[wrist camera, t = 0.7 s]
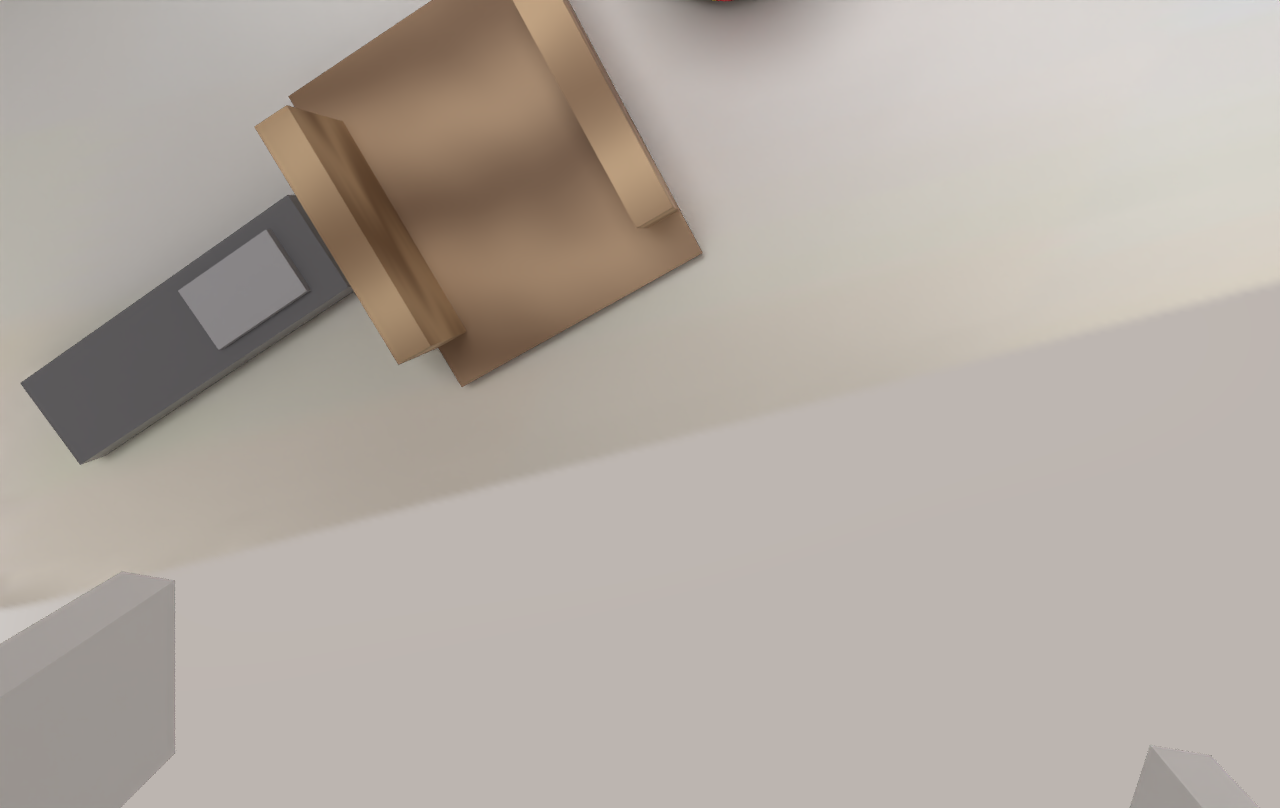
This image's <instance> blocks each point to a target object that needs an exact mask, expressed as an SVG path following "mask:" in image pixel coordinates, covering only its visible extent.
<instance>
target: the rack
mask: <svg viewBox="0 0 1280 808" xmlns="http://www.w3.org/2000/svg"><path fill="white" fill-rule="evenodd" d="M288 97H289V98H290V100H291V102H292V103H293V105H294V107H295V108H294V107H291V106H287V105H286V106H285V107H283V108H282V109H280V110H279V111H277V112H276V113H274V114H273V115H271V116H270V117H268V118H267V119H265V120H264V121H262V122H261V123H259V124H258V125H256V126H255V129H256V130H257V132H258V134H259V135H260V137H261V139H262V140H263V142H264V144H265V145H266V147H267V149H268V150H269V152H270V154H271V155H272V157H273V159H274V160H275V162H276V163H277V165H278V167H279V168H280V170H281V172H282V173H283V175H284V177H285V178H286V180H287V182H288V183H289V185H290V187H291V188H292V190H293V192H294V193H295V195H296V196H297V198H298V200H299V201H300V203H301V205H302V206H303V208H304V210H305V211H306V213H307V215H308V216H309V218H310V220H311V221H312V223H313V225H314V226H315V228H316V229H317V231H318V233H319V234H320V236H321V238H322V239H323V241H324V243H325V244H326V246H327V248H328V249H329V251H330V253H331V254H332V256H333V257H334V259H335V261H336V262H337V264H338V266H339V267H340V269H341V271H342V272H343V274H344V276H345V277H346V279H347V281H348V282H349V284H350V286H351V287H352V289H353V290H354V292H355V294H356V295H357V297H358V299H359V300H360V302H361V304H362V305H363V307H364V309H365V310H366V312H367V314H368V315H369V317H370V319H371V320H372V322H373V323H374V325H375V327H376V328H377V330H378V332H379V333H380V335H381V337H382V338H383V340H384V342H385V343H386V345H387V347H388V348H389V350H390V352H391V353H392V355H393V356H394V358H395V360H396V361H397V363H398V365H399V364H401V363H404V362H406V361H408V360H411V359H413V358H415V357H418V356H420V355H422V354H425V353H427V352H429V351H432V350H434V349H436V348H439V350H440V352H441V353H442V355H443V357H444V358H445V360H446V362H447V363H448V365H449V367H450V368H451V370H452V372H453V373H454V375H455V377H456V378H457V380H458V382H459V383H460V385H461V387H463V386H465V385H467V384H469V383H470V382H472V381H474V380H476V379H478V378H479V377H481V376H483V375H485V374H487V373H488V372H490V371H492V370H494V369H496V368H497V367H499V366H501V365H503V364H504V363H506V362H508V361H510V360H512V359H513V358H515V357H517V356H519V355H521V354H522V353H524V352H526V351H528V350H530V349H531V348H533V347H535V346H537V345H539V344H540V343H542V342H544V341H546V340H548V339H549V338H551V337H553V336H555V335H556V334H558V333H560V332H562V331H564V330H565V329H567V328H569V327H571V326H573V325H574V324H576V323H578V322H580V321H582V320H583V319H585V318H587V317H589V316H591V315H592V314H594V313H596V312H598V311H599V310H601V309H603V308H605V307H607V306H608V305H610V304H612V303H614V302H616V301H617V300H619V299H621V298H623V297H625V296H626V295H628V294H630V293H632V292H634V291H635V290H637V289H639V288H641V287H643V286H644V285H646V284H648V283H650V282H651V281H653V280H655V279H657V278H659V277H660V276H662V275H664V274H666V273H668V272H669V271H671V270H673V269H675V268H677V267H678V266H680V265H682V264H684V263H686V262H687V261H689V260H691V259H693V258H695V257H696V256H698V255H700V254H702V251H701V249H700V247H699V245H698V243H697V241H696V239H695V238H694V236H693V234H692V232H691V230H690V228H689V226H688V224H687V223H686V221H685V219H684V217H683V215H682V213H681V211H680V209H679V207H678V206H677V204H676V202H675V200H674V198H673V196H672V194H671V192H670V191H669V189H668V187H667V185H666V183H665V181H664V179H663V177H662V176H661V174H660V172H659V170H658V168H657V166H656V164H655V162H654V161H653V159H652V157H651V155H650V153H649V151H648V149H647V147H646V146H645V144H644V142H643V140H642V138H641V136H640V134H639V132H638V131H637V129H636V127H635V125H634V123H633V121H632V119H631V117H630V116H629V114H628V112H627V110H626V108H625V106H624V104H623V102H622V101H621V99H620V97H619V95H618V93H617V91H616V89H615V87H614V85H613V84H612V82H611V80H610V78H609V76H608V74H607V72H606V70H605V69H604V67H603V65H602V63H601V61H600V59H599V57H598V55H597V54H596V52H595V50H594V48H593V46H592V44H591V42H590V40H589V39H588V37H587V35H586V33H585V31H584V29H583V27H582V25H581V24H580V22H579V20H578V18H577V16H576V14H575V12H574V10H573V9H572V7H571V5H570V3H569V1H568V0H431V1H430V2H428V3H427V4H425V5H424V6H422V7H421V8H419V9H418V10H417V11H415V12H414V13H412V14H411V15H409V16H408V17H406V18H405V19H403V20H402V21H400V22H399V23H397V24H396V25H394V26H393V27H391V28H390V29H388V30H387V31H385V32H384V33H382V34H381V35H379V36H378V37H376V38H375V39H373V40H372V41H370V42H369V43H367V44H366V45H364V46H363V47H361V48H360V49H358V50H357V51H355V52H354V53H352V54H351V55H349V56H348V57H346V58H345V59H343V60H342V61H340V62H339V63H337V64H336V65H335V66H333V67H332V68H330V69H329V70H327V71H326V72H324V73H323V74H321V75H320V76H318V77H317V78H315V79H314V80H312V81H311V82H309V83H308V84H306V85H305V86H303V87H302V88H300V89H299V90H297V91H296V92H294V93H293V94H291V95H290V96H288Z"/></svg>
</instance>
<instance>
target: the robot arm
mask: <svg viewBox="0 0 1280 808" xmlns="http://www.w3.org/2000/svg"><path fill="white" fill-rule="evenodd" d="M174 754H175V581H174V580H169V579H163V578H157V577H151V576H145V575H140V574H134V573H128V572H120V573H118V574H117V575H115V576H113V577H112V578H110V579H108V580H107V581H105V582H103V583H102V584H100V585H98V586H97V587H95V588H93V589H92V590H90V591H88V592H87V593H85V594H83V595H81V596H80V597H78V598H76V599H75V600H73V601H71V602H70V603H68V604H66V605H65V606H63V607H61V608H60V609H58V610H56V611H55V612H53V613H51V614H50V615H48V616H46V617H45V618H43V619H41V620H40V621H38V622H36V623H35V624H33V625H31V626H30V627H28V628H26V629H25V630H23V631H21V632H19V633H18V634H16V635H15V636H13V637H11V638H9V639H8V640H6V641H4V642H3V643H1V644H0V808H121V807H122V806H123V805H124V803H126V802H127V800H129V799H130V798H131V797H132V796H133V795H134V794H135V793H136V792H137V790H139V789H140V788H141V787H142V785H144V784H145V783H146V782H147V781H148V780H149V779H150V778H151V777H152V776H153V775H154V774H155V773H156V772H157V771H158V770H159V769H160V768H161V767H162V766H163V765H164V764H165V763H166V762H167V761H168V760H169V759H170V758H171V757H172V756H173V755H174ZM1130 808H1260V807H1259V806H1258V805H1257V804H1256V803H1255V802H1254V801H1253V800H1252V799H1251V798H1250V797H1249V795H1248V794H1247V793H1246V792H1245V791H1244V790H1243V789H1242V788H1241V787H1240V786H1239V785H1238V784H1237V783H1236V781H1234V779H1233V778H1232V777H1231V776H1230V775H1229V774H1228V773H1227V772H1226V771H1225V770H1224V769H1223V768H1222V766H1221V765H1220V764H1219V763H1218V762H1217V761H1216V760H1215V759H1214V758H1213V757H1212V756H1211V755H1206V754H1200V753H1194V752H1188V751H1183V750H1177V749H1170V748H1164V747H1159V746H1153V745H1150V747H1149V750H1148V753H1147V756H1146V759H1145V762H1144V765H1143V768H1142V771H1141V774H1140V777H1139V781H1138V784H1137V787H1136V790H1135V793H1134V796H1133V799H1132V802H1131V806H1130Z"/></svg>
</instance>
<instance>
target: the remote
mask: <svg viewBox="0 0 1280 808" xmlns="http://www.w3.org/2000/svg"><path fill="white" fill-rule="evenodd" d="M353 291H354V290H353V289H352V287H351V286H350V284H349V282H348V281H347V279H346V277H345V276H344V274H343V272H342V271H341V269H340V267H339V266H338V264H337V262H336V261H335V259H334V257H333V256H332V254H331V253H330V251H329V249H328V248H327V246H326V244H325V243H324V241H323V239H322V238H321V236H320V234H319V233H318V231H317V229H316V228H315V226H314V225H313V223H312V221H311V220H310V218H309V216H308V215H307V213H306V211H305V210H304V208H303V206H302V205H301V203H300V201H299V200H298V198H297V196H296V195H287V196H286V197H284V198H283V199H281V200H280V201H278V202H277V203H276V204H274V205H273V206H271V207H270V208H268V209H267V210H266V211H264V212H263V213H261V214H260V215H259V216H257V217H256V218H254V219H253V220H251V221H250V222H249V223H247V224H246V225H244V226H243V227H241V228H240V229H239V230H237V231H236V232H234V233H233V234H232V235H230V236H229V237H227V238H226V239H224V240H223V241H222V242H220V243H219V244H217V245H216V246H214V247H213V248H212V249H210V250H209V251H207V252H206V253H205V254H203V255H202V256H200V257H199V258H197V259H196V260H195V261H193V262H192V263H190V264H189V265H187V266H186V267H185V268H183V269H182V270H180V271H179V272H178V273H176V274H175V275H173V276H172V277H170V278H169V279H168V280H166V281H165V282H163V283H162V284H160V285H159V286H158V287H156V288H155V289H153V290H152V291H151V292H149V293H148V294H146V295H145V296H143V297H142V298H141V299H139V300H138V301H136V302H135V303H133V304H132V305H131V306H129V307H128V308H126V309H125V310H124V311H122V312H121V313H119V314H118V315H116V316H115V317H114V318H112V319H111V320H109V321H108V322H106V323H105V324H104V325H102V326H101V327H99V328H98V329H97V330H95V331H94V332H92V333H91V334H89V335H88V336H87V337H85V338H84V339H82V340H81V341H80V342H78V343H77V344H75V345H74V346H72V347H71V348H70V349H68V350H67V351H65V352H64V353H62V354H61V355H60V356H58V357H57V358H55V359H54V360H53V361H51V362H50V363H48V364H47V365H45V366H44V367H43V368H41V369H40V370H38V371H37V372H35V373H34V374H33V375H31V376H30V377H28V378H27V379H26V380H24V381H23V382H21V385H22V386H23V387H24V389H25V390H26V392H27V393H28V394H29V396H30V397H31V398H32V400H33V401H34V402H35V404H36V405H37V407H38V408H39V409H40V411H41V412H42V413H43V415H44V416H45V417H46V419H47V420H48V422H49V423H50V424H51V426H52V427H53V428H54V430H55V431H56V432H57V434H58V435H59V437H60V438H61V439H62V441H63V442H64V443H65V445H66V446H67V447H68V449H69V450H70V452H71V453H72V454H73V456H74V457H75V458H76V460H77V461H78V462H79V464H80V465H81V464H84V463H87V462H89V461H92V460H95V459H98V458H100V457H103V456H105V455H107V454H108V453H110V452H111V451H113V450H114V449H116V448H117V447H119V446H120V445H122V444H123V443H125V442H126V441H128V440H129V439H131V438H133V437H134V436H136V435H137V434H139V433H140V432H142V431H143V430H145V429H146V428H148V427H149V426H151V425H152V424H154V423H155V422H157V421H158V420H160V419H161V418H163V417H164V416H166V415H167V414H169V413H170V412H172V411H173V410H175V409H176V408H178V407H179V406H181V405H182V404H184V403H185V402H187V401H188V400H190V399H191V398H193V397H194V396H196V395H198V394H199V393H201V392H202V391H204V390H205V389H207V388H208V387H210V386H211V385H213V384H214V383H216V382H217V381H219V380H220V379H222V378H223V377H225V376H226V375H228V374H229V373H231V372H232V371H234V370H235V369H237V368H238V367H240V366H241V365H243V364H244V363H246V362H247V361H249V360H250V359H252V358H253V357H255V356H256V355H258V354H259V353H261V352H263V351H264V350H266V349H267V348H269V347H270V346H272V345H273V344H275V343H276V342H278V341H279V340H281V339H282V338H284V337H285V336H287V335H288V334H290V333H291V332H293V331H294V330H296V329H297V328H299V327H300V326H302V325H303V324H305V323H306V322H308V321H309V320H311V319H312V318H314V317H315V316H317V315H318V314H320V313H321V312H323V311H324V310H326V309H328V308H329V307H331V306H332V305H334V304H335V303H337V302H338V301H340V300H341V299H343V298H344V297H346V296H347V295H349V294H350V293H352V292H353Z"/></svg>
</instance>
